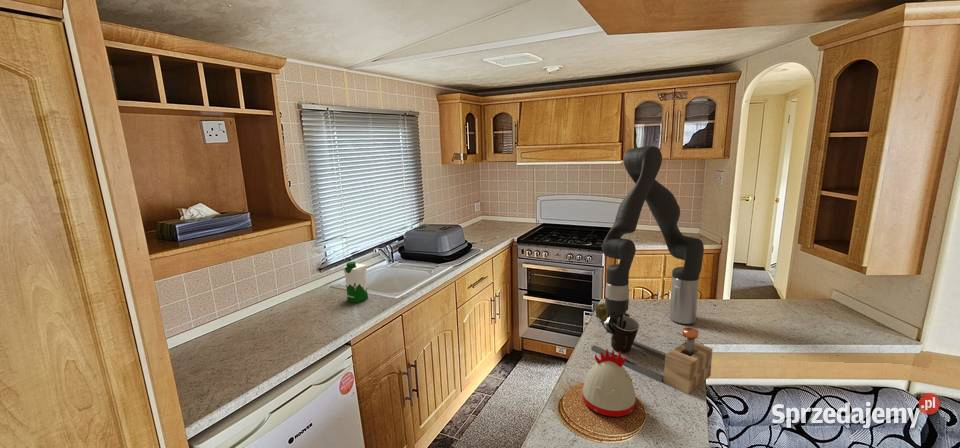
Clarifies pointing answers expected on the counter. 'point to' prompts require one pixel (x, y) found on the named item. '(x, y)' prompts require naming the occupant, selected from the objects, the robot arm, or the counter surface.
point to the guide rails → (636, 366)
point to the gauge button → (690, 340)
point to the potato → (601, 312)
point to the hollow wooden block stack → (687, 367)
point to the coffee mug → (624, 335)
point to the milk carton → (356, 282)
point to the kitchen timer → (609, 387)
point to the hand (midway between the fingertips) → (615, 343)
